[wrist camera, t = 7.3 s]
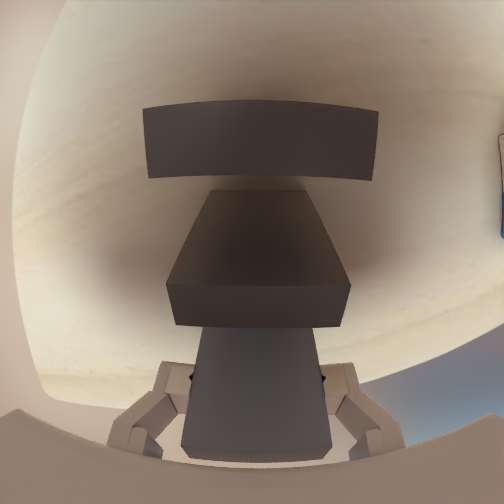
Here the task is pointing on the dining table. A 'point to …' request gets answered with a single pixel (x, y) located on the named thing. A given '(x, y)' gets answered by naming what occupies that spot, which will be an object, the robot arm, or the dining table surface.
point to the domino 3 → (257, 397)
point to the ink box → (503, 151)
